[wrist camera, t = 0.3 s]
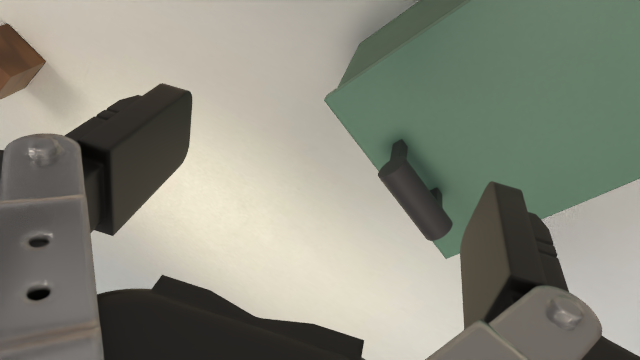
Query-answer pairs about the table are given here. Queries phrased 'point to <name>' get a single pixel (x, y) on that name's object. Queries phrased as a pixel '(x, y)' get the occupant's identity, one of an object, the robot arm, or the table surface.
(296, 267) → the table surface
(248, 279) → the table surface
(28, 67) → the block
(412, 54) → the lid
